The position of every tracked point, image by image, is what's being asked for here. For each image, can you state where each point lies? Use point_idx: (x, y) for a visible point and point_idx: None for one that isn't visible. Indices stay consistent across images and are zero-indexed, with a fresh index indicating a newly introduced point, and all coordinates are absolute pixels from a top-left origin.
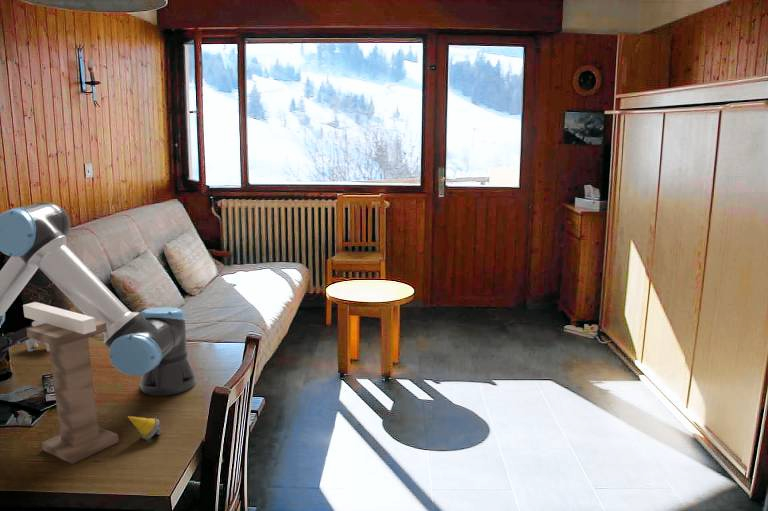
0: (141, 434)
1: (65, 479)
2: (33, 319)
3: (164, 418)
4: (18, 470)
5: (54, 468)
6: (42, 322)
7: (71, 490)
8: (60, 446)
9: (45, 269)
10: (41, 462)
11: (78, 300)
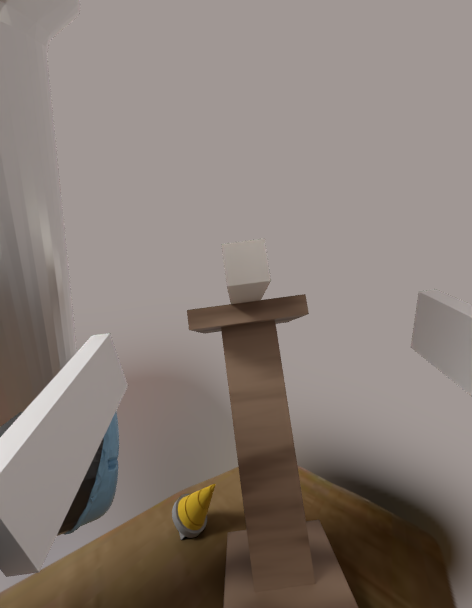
0: (198, 531)
1: (342, 510)
2: (265, 290)
3: (117, 571)
4: (422, 580)
5: (351, 543)
6: (112, 385)
7: (341, 489)
8: (324, 558)
9: (41, 97)
10: (372, 578)
11: (68, 299)
